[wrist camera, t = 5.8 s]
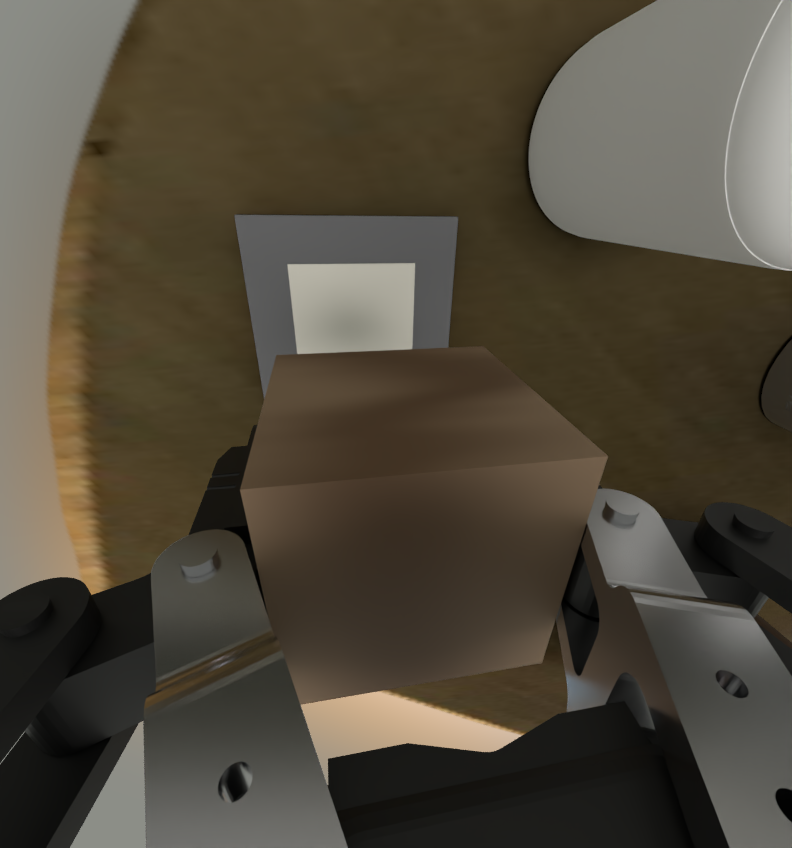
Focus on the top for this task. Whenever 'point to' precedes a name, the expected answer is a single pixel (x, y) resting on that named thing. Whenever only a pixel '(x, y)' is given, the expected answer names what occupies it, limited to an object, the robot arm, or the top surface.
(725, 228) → the pill bottle
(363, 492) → the walnut block
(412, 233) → the mat
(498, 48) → the top surface
